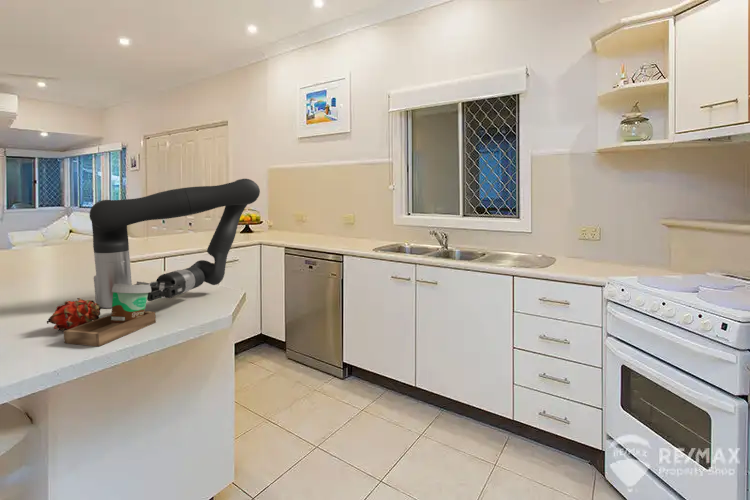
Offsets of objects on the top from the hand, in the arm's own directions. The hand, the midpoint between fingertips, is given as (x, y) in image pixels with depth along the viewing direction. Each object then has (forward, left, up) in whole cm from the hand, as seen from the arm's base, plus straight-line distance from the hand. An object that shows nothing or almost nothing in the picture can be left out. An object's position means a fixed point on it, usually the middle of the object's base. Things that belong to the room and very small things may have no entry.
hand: (135, 296), depth 108 cm
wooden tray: (0, -8, -7) cm, 11 cm away
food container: (+2, -4, -6) cm, 7 cm away
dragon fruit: (-11, -8, -7) cm, 16 cm away
